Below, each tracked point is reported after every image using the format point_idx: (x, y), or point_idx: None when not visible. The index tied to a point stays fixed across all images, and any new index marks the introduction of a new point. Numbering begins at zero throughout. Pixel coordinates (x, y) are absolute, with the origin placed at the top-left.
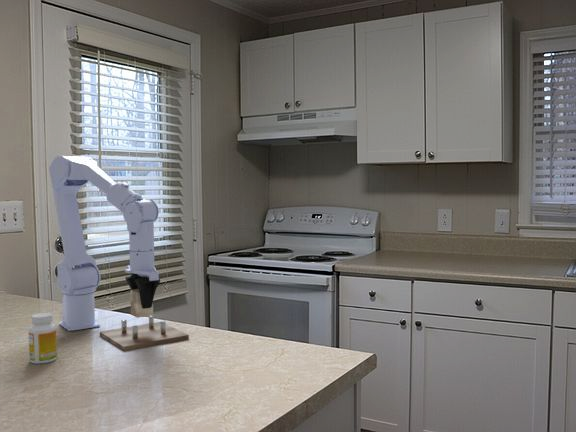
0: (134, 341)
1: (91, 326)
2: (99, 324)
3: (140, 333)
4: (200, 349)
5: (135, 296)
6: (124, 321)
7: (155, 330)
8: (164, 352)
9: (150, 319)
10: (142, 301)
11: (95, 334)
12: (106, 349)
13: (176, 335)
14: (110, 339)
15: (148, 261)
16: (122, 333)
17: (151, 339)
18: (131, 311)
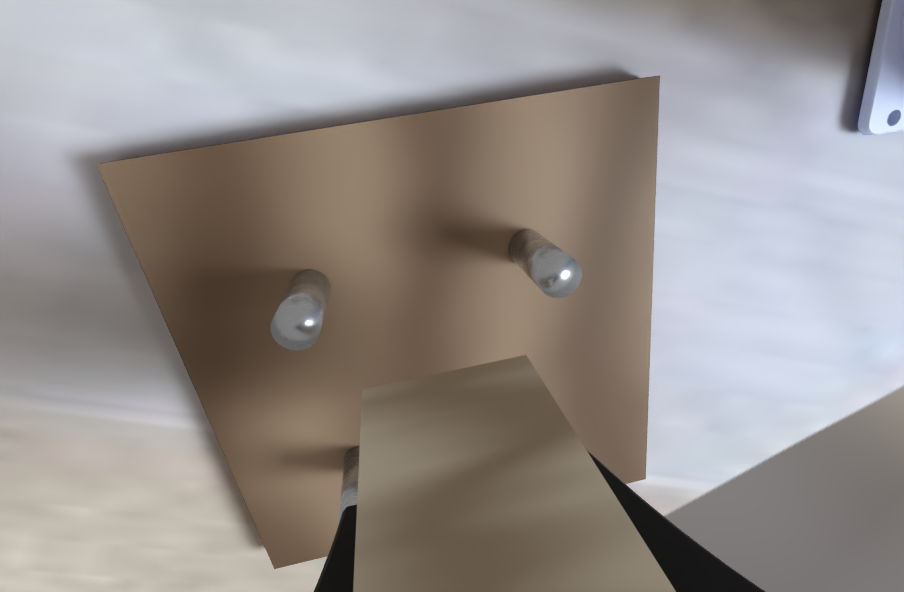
0: (234, 269)
1: (878, 60)
2: (878, 129)
3: (438, 341)
4: (29, 571)
5: (409, 580)
6: (535, 275)
7: None
8: (6, 402)
9: None
10: (319, 585)
11: (693, 54)
12: (215, 39)
13: (287, 515)
14: (406, 115)
15: None
16: (504, 230)
17: (247, 380)
18: (518, 376)
